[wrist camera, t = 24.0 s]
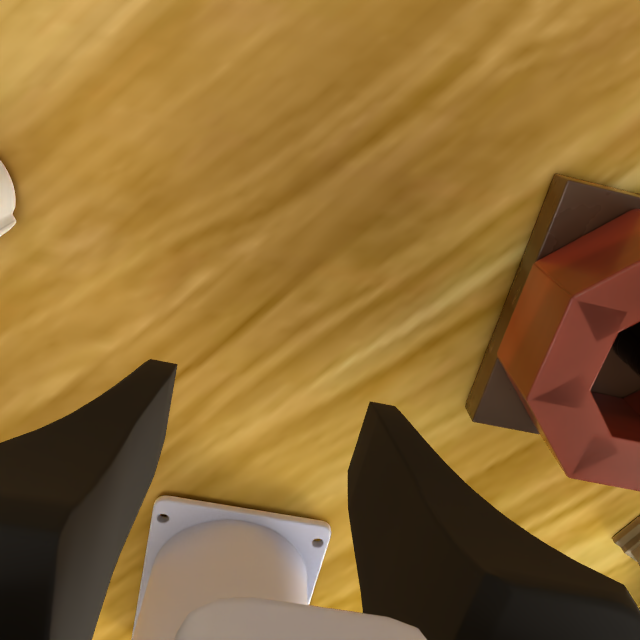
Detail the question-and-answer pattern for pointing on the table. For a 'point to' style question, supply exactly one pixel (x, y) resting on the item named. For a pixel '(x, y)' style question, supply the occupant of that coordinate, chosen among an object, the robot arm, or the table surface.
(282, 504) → the table surface
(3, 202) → the white wireless mouse
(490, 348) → the post
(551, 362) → the ring
